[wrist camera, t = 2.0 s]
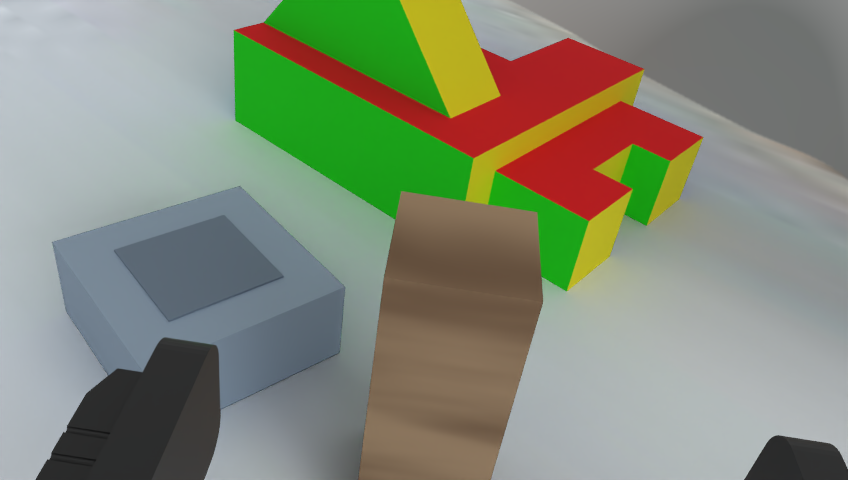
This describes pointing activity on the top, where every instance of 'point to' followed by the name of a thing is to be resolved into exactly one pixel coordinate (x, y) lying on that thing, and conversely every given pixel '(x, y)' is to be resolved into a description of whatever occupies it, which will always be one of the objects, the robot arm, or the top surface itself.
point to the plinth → (203, 291)
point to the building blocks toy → (461, 120)
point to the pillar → (450, 338)
